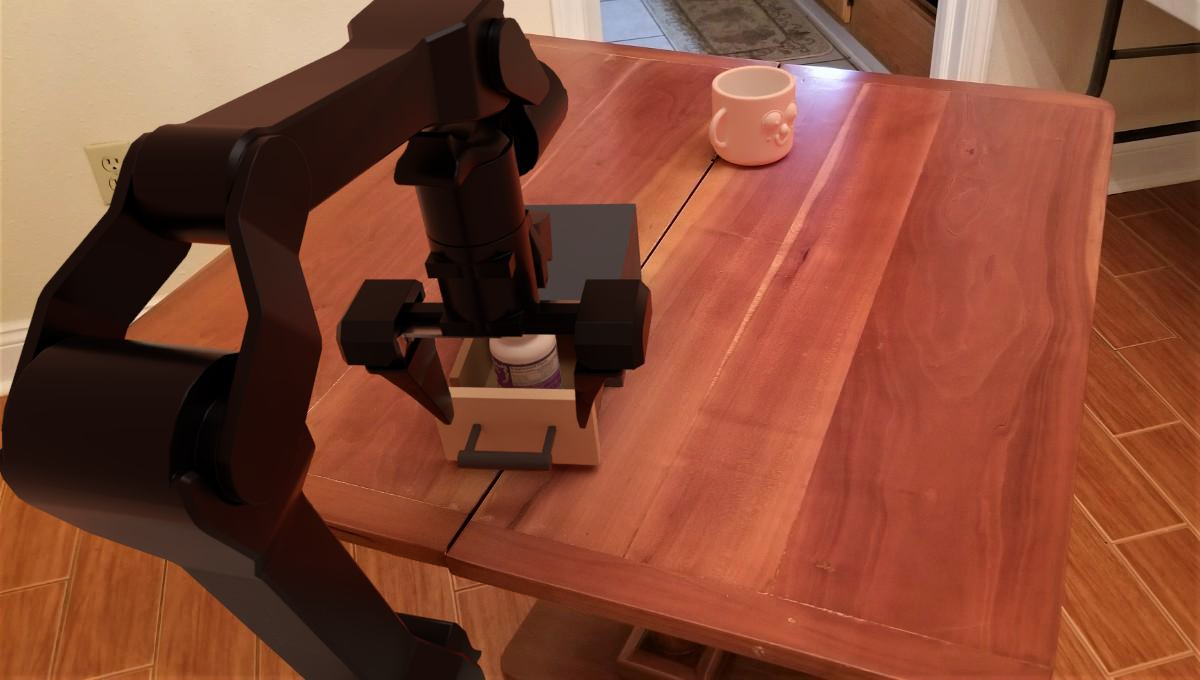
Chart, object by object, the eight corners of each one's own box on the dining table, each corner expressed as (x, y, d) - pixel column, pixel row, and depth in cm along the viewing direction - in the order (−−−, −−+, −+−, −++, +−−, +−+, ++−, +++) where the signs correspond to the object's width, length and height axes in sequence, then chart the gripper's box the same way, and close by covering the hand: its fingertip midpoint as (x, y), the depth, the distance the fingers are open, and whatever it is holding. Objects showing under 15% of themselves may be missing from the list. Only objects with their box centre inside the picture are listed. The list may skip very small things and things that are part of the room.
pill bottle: (497, 389, 81) (478, 298, 75) (557, 375, 81) (543, 284, 75) (507, 430, 76) (488, 338, 70) (571, 415, 77) (557, 322, 71)
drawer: (591, 506, 71) (582, 440, 66) (431, 500, 73) (412, 435, 68) (622, 342, 86) (616, 280, 82) (489, 341, 88) (476, 280, 84)
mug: (743, 188, 108) (744, 114, 103) (683, 160, 115) (680, 90, 109) (813, 151, 114) (817, 80, 108) (751, 127, 120) (752, 58, 115)
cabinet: (623, 386, 83) (614, 306, 77) (472, 383, 85) (454, 305, 79) (641, 278, 96) (635, 203, 90) (510, 278, 98) (497, 205, 92)
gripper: (652, 150, 58) (665, 348, 67) (366, 157, 61) (417, 345, 70) (633, 249, 49) (651, 459, 59) (300, 251, 52) (368, 450, 62)
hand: (516, 422), depth 62 cm, fingers open, 9 cm apart
